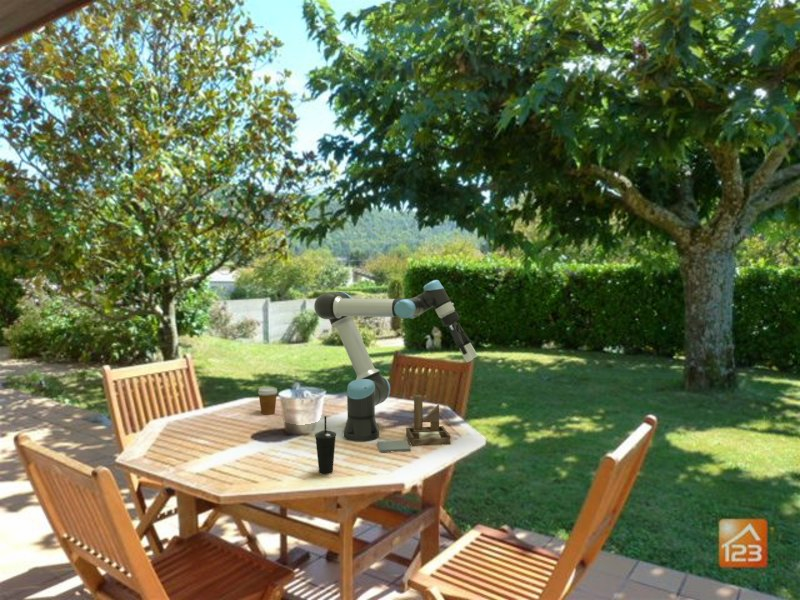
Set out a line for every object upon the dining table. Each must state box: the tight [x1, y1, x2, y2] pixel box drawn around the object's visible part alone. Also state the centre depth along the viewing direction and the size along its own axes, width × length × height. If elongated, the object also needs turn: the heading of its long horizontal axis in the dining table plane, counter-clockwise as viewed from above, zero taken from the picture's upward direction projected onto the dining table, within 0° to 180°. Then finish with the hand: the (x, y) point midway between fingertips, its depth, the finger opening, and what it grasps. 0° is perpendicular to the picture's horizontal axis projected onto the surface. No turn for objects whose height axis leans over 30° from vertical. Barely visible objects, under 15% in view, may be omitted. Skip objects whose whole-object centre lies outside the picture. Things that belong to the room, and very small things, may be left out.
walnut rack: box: [405, 425, 451, 447], centre depth 244 cm, size 16×14×4 cm
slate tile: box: [376, 439, 412, 453], centre depth 234 cm, size 12×11×1 cm
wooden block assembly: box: [413, 394, 440, 432], centre depth 246 cm, size 4×11×18 cm, turn 88°
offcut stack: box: [419, 432, 441, 439], centre depth 240 cm, size 9×3×4 cm, turn 98°
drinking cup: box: [314, 415, 337, 475], centre depth 207 cm, size 8×8×20 cm
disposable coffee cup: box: [257, 386, 278, 416], centre depth 286 cm, size 10×10×12 cm
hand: (472, 359), depth 243 cm, fingers open, 13 cm apart
